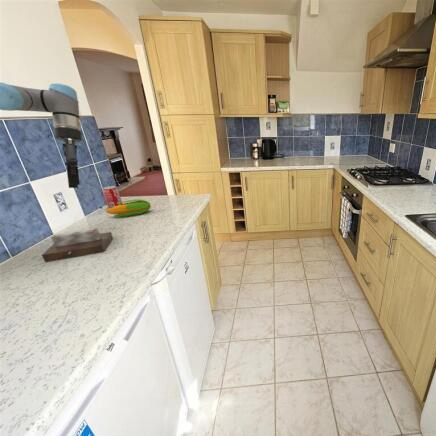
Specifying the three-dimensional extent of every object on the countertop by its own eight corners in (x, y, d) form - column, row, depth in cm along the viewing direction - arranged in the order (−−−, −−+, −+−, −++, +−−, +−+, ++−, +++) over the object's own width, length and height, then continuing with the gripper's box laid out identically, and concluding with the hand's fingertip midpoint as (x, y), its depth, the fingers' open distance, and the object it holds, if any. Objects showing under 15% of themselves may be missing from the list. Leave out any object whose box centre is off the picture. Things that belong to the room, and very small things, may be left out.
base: (40, 266, 84) (36, 259, 83) (63, 243, 100) (60, 236, 98) (102, 255, 90) (99, 248, 88) (115, 235, 105) (113, 228, 104)
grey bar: (55, 247, 90) (50, 237, 89) (57, 244, 92) (53, 234, 90) (99, 240, 95) (95, 230, 93) (101, 237, 97) (97, 228, 95)
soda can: (122, 204, 142) (116, 184, 137) (124, 207, 137) (117, 187, 132) (108, 207, 138) (101, 187, 133) (109, 211, 133) (101, 189, 128)
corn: (148, 199, 125) (101, 206, 117) (151, 213, 128) (106, 220, 120) (149, 196, 131) (104, 202, 123) (152, 209, 134) (109, 216, 126)
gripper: (83, 121, 84) (89, 183, 85) (79, 138, 102) (84, 188, 104) (52, 117, 79) (60, 182, 80) (54, 135, 97) (60, 188, 98)
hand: (73, 186), depth 92 cm, fingers open, 13 cm apart
